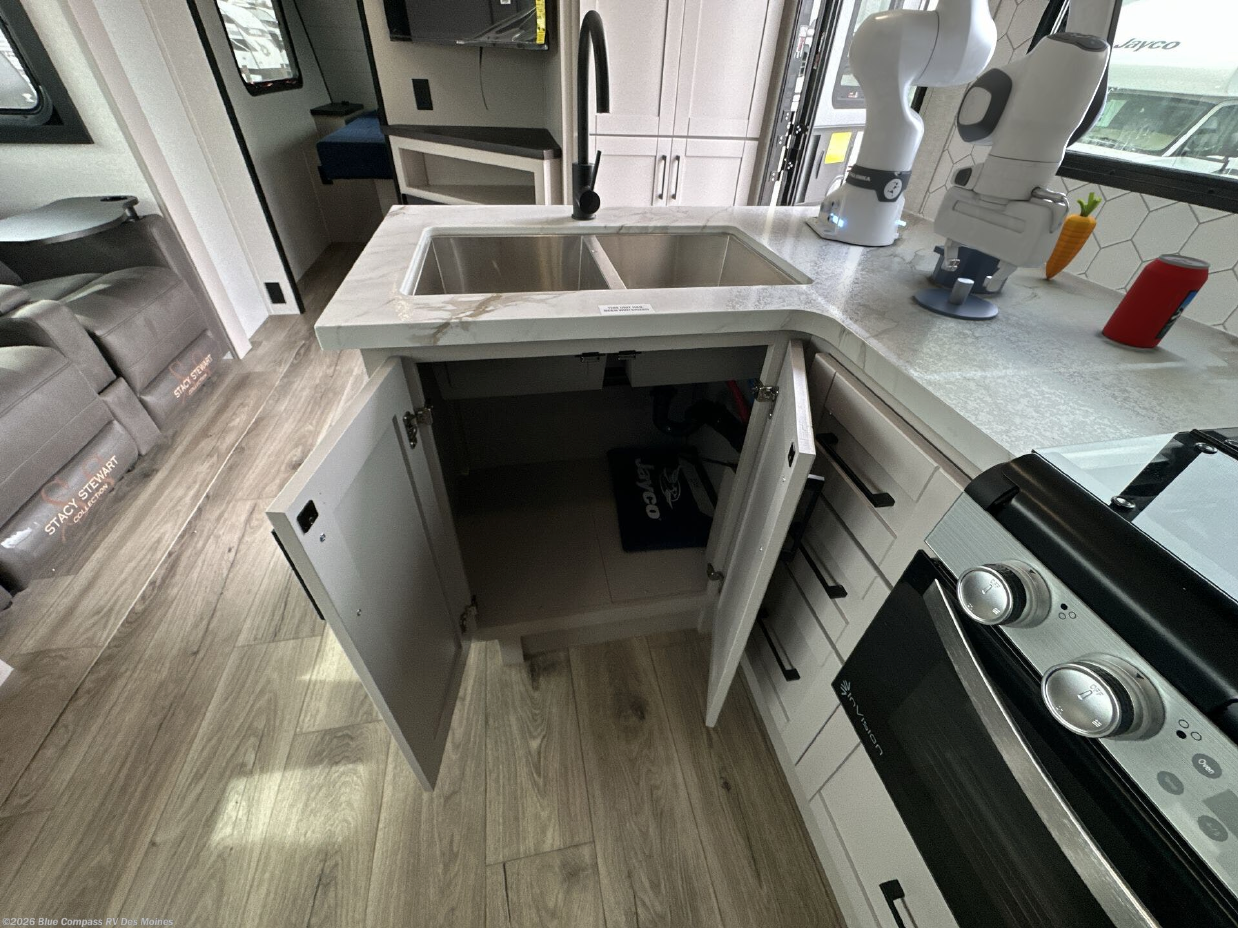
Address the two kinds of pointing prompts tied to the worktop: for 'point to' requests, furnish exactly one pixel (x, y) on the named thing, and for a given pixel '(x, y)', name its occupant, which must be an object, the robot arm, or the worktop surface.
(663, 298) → the worktop surface
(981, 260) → the pot
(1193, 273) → the beverage can
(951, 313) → the lid
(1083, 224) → the carrot
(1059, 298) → the worktop surface
